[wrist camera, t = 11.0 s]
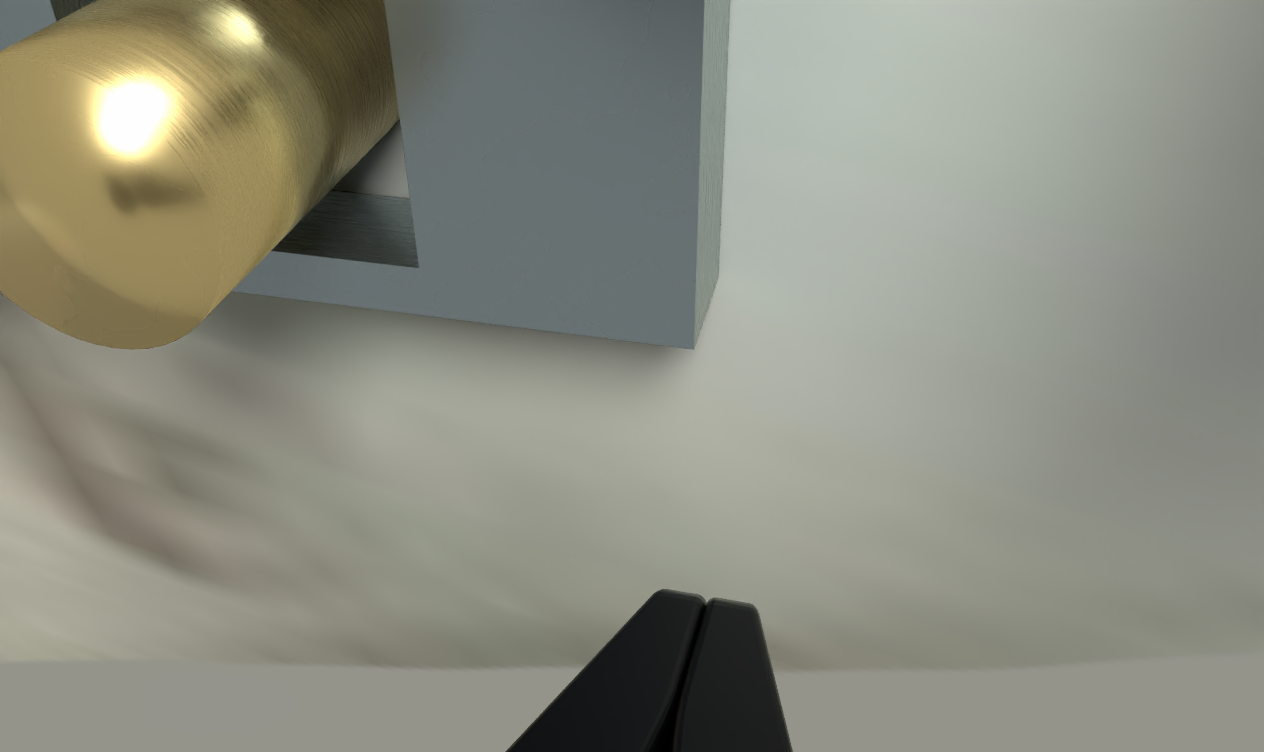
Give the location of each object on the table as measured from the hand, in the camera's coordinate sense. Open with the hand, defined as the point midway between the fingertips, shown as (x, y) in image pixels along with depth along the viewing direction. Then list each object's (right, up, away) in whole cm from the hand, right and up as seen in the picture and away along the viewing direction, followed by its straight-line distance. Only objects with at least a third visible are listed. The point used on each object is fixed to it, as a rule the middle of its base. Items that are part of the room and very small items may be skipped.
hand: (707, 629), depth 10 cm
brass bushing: (-7, +8, +12) cm, 16 cm away
